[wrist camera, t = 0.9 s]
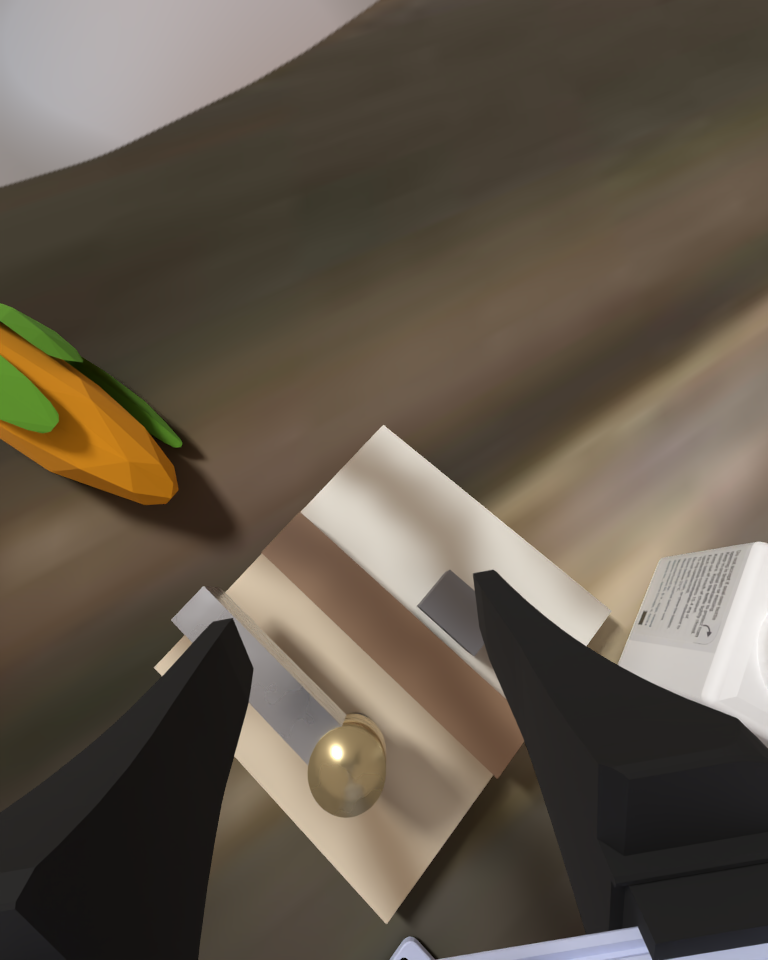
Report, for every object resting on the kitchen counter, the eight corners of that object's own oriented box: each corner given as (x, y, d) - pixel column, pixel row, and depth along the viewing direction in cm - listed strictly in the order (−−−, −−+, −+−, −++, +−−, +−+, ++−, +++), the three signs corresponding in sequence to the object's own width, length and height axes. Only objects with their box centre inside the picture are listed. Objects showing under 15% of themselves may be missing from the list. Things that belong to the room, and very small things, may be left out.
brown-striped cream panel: (386, 903, 22) (385, 970, 18) (167, 663, 25) (125, 675, 21) (598, 610, 26) (637, 611, 22) (383, 434, 29) (382, 407, 25)
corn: (-89, 236, 24) (183, 411, 21) (27, 315, 32) (241, 453, 29) (-187, 339, 23) (86, 539, 20) (-43, 396, 31) (172, 549, 28)
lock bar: (400, 749, 20) (401, 767, 18) (354, 809, 19) (348, 837, 17) (229, 578, 22) (210, 575, 20) (182, 627, 22) (157, 630, 19)
